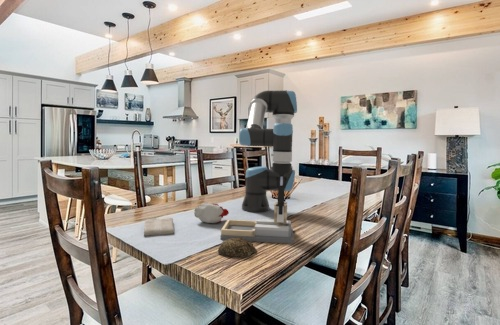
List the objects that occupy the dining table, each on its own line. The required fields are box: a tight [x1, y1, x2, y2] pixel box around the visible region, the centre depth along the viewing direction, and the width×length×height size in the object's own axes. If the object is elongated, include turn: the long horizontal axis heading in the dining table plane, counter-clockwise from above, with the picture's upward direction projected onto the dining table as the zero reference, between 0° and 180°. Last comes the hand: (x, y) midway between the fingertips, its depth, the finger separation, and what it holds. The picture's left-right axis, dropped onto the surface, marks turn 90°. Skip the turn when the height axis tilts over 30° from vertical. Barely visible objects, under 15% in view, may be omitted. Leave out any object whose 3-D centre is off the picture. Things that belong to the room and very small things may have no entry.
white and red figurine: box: [193, 202, 229, 224], centre depth 133 cm, size 9×11×15 cm
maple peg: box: [273, 201, 288, 226], centre depth 115 cm, size 6×6×12 cm
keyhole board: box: [219, 218, 295, 245], centre depth 117 cm, size 28×16×5 cm, turn 84°
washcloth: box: [143, 217, 175, 237], centre depth 122 cm, size 12×18×3 cm, turn 18°
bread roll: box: [217, 238, 258, 258], centre depth 100 cm, size 13×12×5 cm
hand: (280, 219), depth 115 cm, fingers open, 6 cm apart
